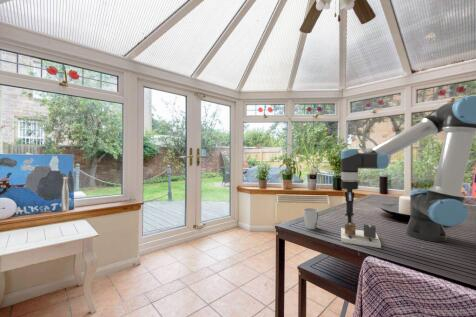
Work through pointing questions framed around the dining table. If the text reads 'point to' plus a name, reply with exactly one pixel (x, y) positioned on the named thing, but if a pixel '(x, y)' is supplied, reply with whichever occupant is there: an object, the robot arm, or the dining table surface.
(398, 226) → the dining table surface
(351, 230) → the fader
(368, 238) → the white flat slab
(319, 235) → the dining table surface
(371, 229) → the fader
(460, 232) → the dining table surface
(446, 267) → the dining table surface
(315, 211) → the cup
